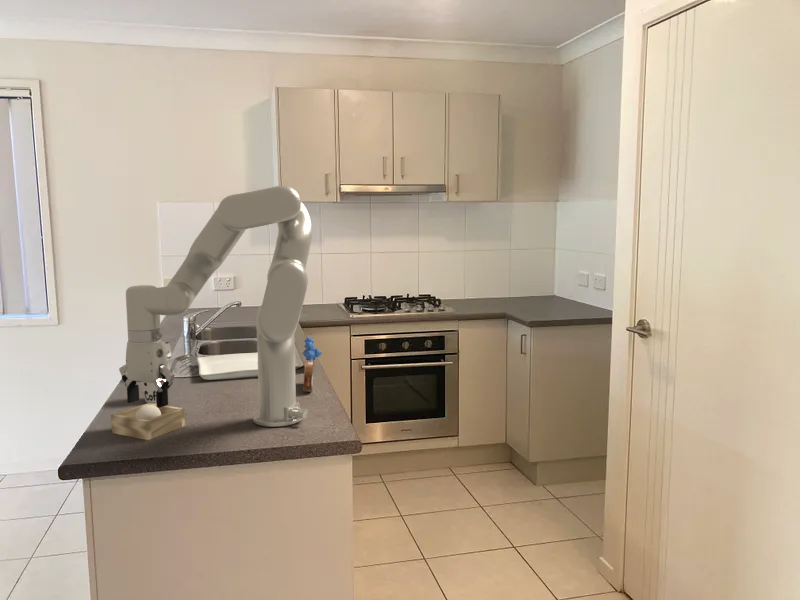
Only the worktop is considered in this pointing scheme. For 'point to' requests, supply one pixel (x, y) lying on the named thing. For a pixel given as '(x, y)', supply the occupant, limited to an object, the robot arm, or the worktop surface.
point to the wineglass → (168, 350)
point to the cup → (149, 391)
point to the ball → (148, 412)
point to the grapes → (311, 350)
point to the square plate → (228, 366)
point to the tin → (308, 376)
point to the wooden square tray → (147, 422)
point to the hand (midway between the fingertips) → (147, 403)
